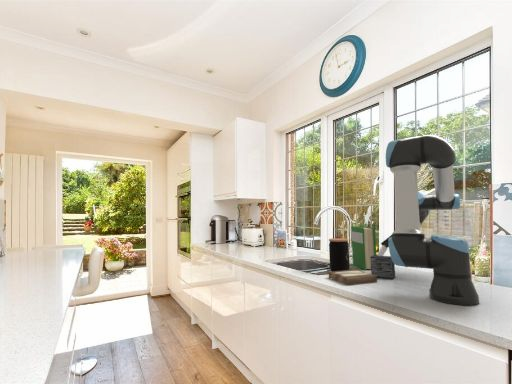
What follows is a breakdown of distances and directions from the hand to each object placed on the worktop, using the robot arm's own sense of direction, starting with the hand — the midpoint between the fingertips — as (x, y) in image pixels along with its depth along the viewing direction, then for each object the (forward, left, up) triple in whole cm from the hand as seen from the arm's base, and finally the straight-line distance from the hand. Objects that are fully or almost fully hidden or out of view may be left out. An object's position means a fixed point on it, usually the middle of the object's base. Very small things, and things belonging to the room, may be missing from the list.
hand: (388, 258), depth 144 cm
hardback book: (+24, -4, -9) cm, 26 cm away
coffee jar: (+19, +16, -9) cm, 27 cm away
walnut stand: (0, +22, -9) cm, 24 cm away
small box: (-1, +4, -9) cm, 10 cm away
